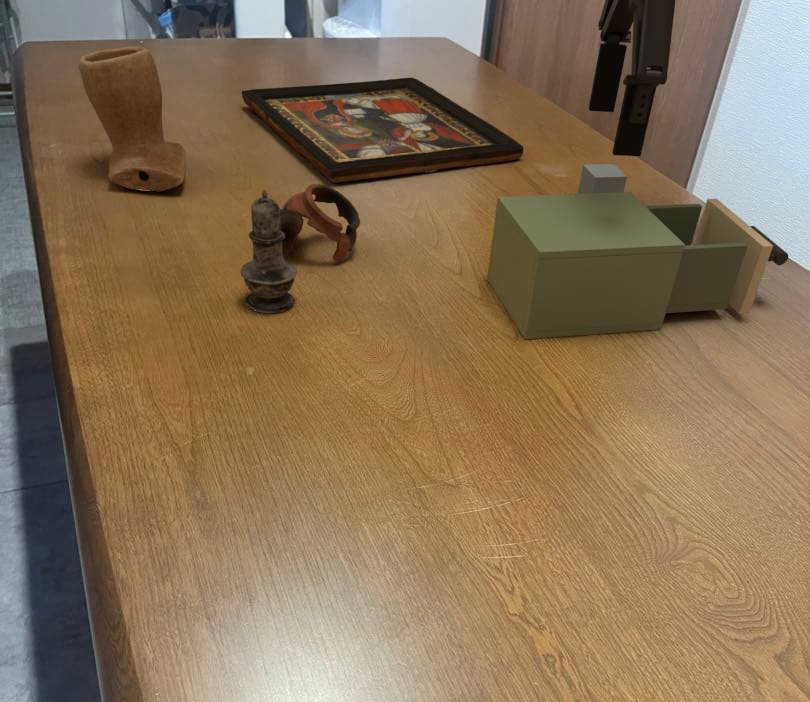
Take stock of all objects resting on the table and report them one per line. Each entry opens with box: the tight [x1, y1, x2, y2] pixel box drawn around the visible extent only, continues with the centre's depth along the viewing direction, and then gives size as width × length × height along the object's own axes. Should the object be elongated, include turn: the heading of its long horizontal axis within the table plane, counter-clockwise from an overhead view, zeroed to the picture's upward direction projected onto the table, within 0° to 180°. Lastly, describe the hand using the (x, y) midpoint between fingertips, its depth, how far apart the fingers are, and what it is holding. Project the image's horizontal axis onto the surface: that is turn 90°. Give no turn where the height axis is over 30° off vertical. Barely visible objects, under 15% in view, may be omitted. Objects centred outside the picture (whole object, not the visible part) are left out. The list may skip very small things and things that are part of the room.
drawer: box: [644, 198, 789, 315], centre depth 97 cm, size 19×12×8 cm, turn 103°
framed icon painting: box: [241, 77, 524, 183], centre depth 133 cm, size 38×35×3 cm
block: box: [577, 163, 628, 194], centre depth 117 cm, size 4×4×4 cm
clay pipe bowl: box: [78, 46, 187, 192], centre depth 112 cm, size 15×12×15 cm
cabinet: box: [486, 191, 685, 340], centre depth 94 cm, size 16×14×10 cm
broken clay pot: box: [280, 183, 361, 263], centre depth 101 cm, size 12×10×8 cm
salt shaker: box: [239, 189, 298, 314], centre depth 90 cm, size 6×6×12 cm
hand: (612, 131), depth 92 cm, fingers open, 13 cm apart
